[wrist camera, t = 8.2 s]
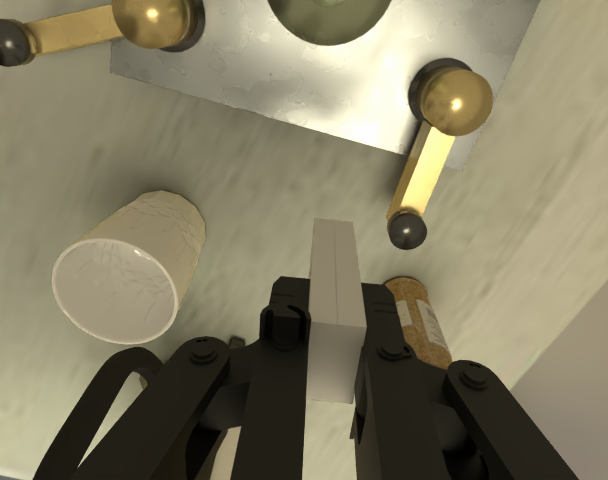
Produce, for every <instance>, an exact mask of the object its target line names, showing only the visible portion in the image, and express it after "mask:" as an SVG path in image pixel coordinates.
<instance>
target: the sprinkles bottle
mask: <svg viewBox="0 0 608 480" xmlns="http://www.w3.org/2000/svg"><path fill="white" fill-rule="evenodd" d="M384 285H386V286H387V288H388V289H389V290H390V291H391V292H392V293H393V294H394V298H395V302H396V306H397V310H398V314H399V318H400V322H401V326H402V330H403V334H404V338H405V342H407V343H408V344H409V345H410V346H411V347H412V348H413V349H414V351H415V353H416V355H417V358H418V359H420V360H422V361H423V362H426V363H428V364H430V365H433V366H436V367H439V368H442V369H445V370H447V368H448V366H449V365H450V364H451V363H452V357H451V354H450V352H449V349H448V347H447V344H446V342H445V339H444V336H443V334H442V331H441V329H440V326H439V323H438V321H437V318H436V316H435V313H434V311H433V309H432V308H431V306H430V303H429V301H428V294H427V291H426V289H425V287H424V286H423V285H422V284H421V283H420V282H418V281H416V280H414V279H410V278H405V277H401V278H396V279H393V280H391V281H389V282H387V283H386V284H384Z"/></svg>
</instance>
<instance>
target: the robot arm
mask: <svg viewBox="0 0 608 480" xmlns="http://www.w3.org/2000/svg"><path fill="white" fill-rule="evenodd" d="M354 394H355V402H356V407H355V412H354V417H353V422H352V428H351V433H350V438H349V439H354V441H355V456H356V472H357V480H579V479H578V478H577V477H576V475H575V474H574V473H573V471H572V470H571V469H570V468H569V466H568V465H567V464H566V463H565V461H564V460H563V459H562V458H561V456H560V455H559V454H558V452H557V451H556V450H555V449H554V447H553V446H552V445H551V444H550V442H549V441H548V440H547V439H546V437H545V436H544V435H543V434H542V432H541V431H540V430H539V429H538V427H537V426H536V425H535V423H534V422H533V421H532V420H531V418H530V417H529V416H528V414H527V413H526V412H525V411H524V409H523V408H522V407H521V406H520V404H519V403H518V402H517V401H516V399H515V398H514V397H513V396H512V394H511V393H510V392H509V390H508V389H507V388H506V387H505V385H504V384H503V383H502V382H501V380H500V379H499V378H498V377H497V376H496V375H495V374H494V373H493V372H492V371H491V370H490V369H489V368H487V367H485V366H483V365H482V364H479V363H476V362H473V361H469V360H458V361H454V362H452V363H451V364H450V365H449V366H448V368H447V370H445V369H442V368H439V367H436V366H433V365H430V364H428V363H426V362H423V361H422V360H420V359H418V358H417V355H416V353H415V351H414V349H413V348H412V347H411V346H410V345H409V344H408V343H407V342H405V338H404V334H403V330H402V326H401V322H400V318H399V314H398V310H397V306H396V302H395V298H394V294H393V293H392V292H391V291H390V290H389V289H388V288H387V286H386V285H379V284H368V283H361V280H360V272H359V265H358V257H357V250H356V242H355V235H354V227H353V222H347V221H336V220H326V219H315V220H314V230H313V240H312V249H311V259H310V269H309V279H305V278H295V277H284V276H281V277H280V278H279V279H278V280H277V281H276V282H275V283H274V284H273V287H272V292H271V297H270V303H269V305H268V306H267V307H265V308H264V309H263V310H262V312H261V314H260V333H259V339H258V340H257V341H255V342H254V343H252V344H250V345H247V346H244V347H239V348H232V349H229V347H228V346H227V345H226V344H225V342H224V341H222V340H220V339H217V338H215V337H207V336H205V337H197V338H194V339H191V340H189V341H186V342H185V343H184V344H183V345H182V346H180V347H179V348H178V350H177V351H176V352H175V353H174V354H173V356H172V357H171V358H170V359H169V360H168V361H167V363H166V364H165V365H164V366H163V367H162V369H161V370H160V371H159V372H158V373H157V375H156V376H155V377H154V378H153V379H152V380H151V382H150V383H149V384H148V385H147V386H146V388H145V389H144V390H143V391H142V392H141V393H140V395H139V396H138V397H137V398H136V399H135V401H134V402H133V403H132V404H131V405H130V407H129V408H128V409H127V410H126V411H125V412H124V414H123V415H122V416H121V417H120V418H119V420H118V421H117V422H116V423H115V424H114V426H113V427H112V428H111V429H110V430H109V431H108V433H107V434H106V435H105V436H104V437H103V439H102V440H101V441H100V442H99V443H98V445H97V446H96V447H95V448H94V449H93V450H92V452H91V453H90V454H89V455H88V456H87V458H86V459H85V460H84V461H83V462H82V463H81V465H80V466H79V467H78V468H77V469H76V471H75V472H74V473H73V474H72V475H71V477H70V478H69V479H68V480H202V479H203V477H204V476H205V474H206V472H207V470H208V468H209V466H210V464H211V463H212V461H213V459H214V457H215V455H216V453H217V452H218V450H219V448H220V446H221V444H222V442H223V440H224V439H225V437H226V435H227V432H228V429H230V428H235V427H240V426H241V429H240V434H239V439H238V444H237V448H236V453H235V458H234V463H233V468H232V472H231V477H230V480H302V467H303V448H304V428H305V408H306V399H307V400H317V401H327V402H338V403H348V404H353V399H354Z"/></svg>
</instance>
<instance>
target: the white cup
mask: <svg viewBox="0 0 608 480" xmlns="http://www.w3.org/2000/svg"><path fill="white" fill-rule="evenodd" d="M205 241H206V232H205V222H204V220H203V218H202V217H201V215H200V213H199V212H198V210H197V208H196V207H195V206H194V205H193V204H191V203H190V202H189V201H187V200H186V199H185V198H183V197H182V196H181V195H178V194H174V193H170V192H166V191H162V190H160V191H154V192H148V193H143V194H142V195H140V196H139V197H138V198H137V199H135V200H134V201H133V202H131V203H130V204H128V205H126V206H124V207H122V208H120V209H119V210H118V211H116V212H115V213H113V214H112V215H110V216H109V217H108V218H106V219H105V220H103V221H102V222H100V223H99V224H98V225H97V226H96V227H94V228H93V229H92V230H90V231H89V232H88V233H87V234H85V235H84V236H82V237H81V238H80V239H79V240H77V241H76V242H75V243H73V244H72V245H71V246H69V247H68V248H67V249H65V250H64V251H63V252H62V253H61V254H60V256H59V257H58V258H57V260H56V262H55V264H54V266H53V270H52V275H51V285H52V290H53V294H54V297H55V299H56V302H57V304H58V305H59V307H60V309H61V310H62V311H63V313H64V314H65V315H66V316H67V318H68V319H69V320H70V321H71V322H72V323H74V324H75V325H76V326H77V327H79V328H80V329H81V330H83V331H84V332H86V333H88V334H90V335H91V336H93V337H96V338H98V339H101V340H104V341H107V342H111V343H116V344H125V345H131V344H140V343H145V342H148V341H151V340H153V339H156V338H157V337H159V336H161V335H162V334H163V333H165V332H166V331H167V330H168V329H169V327H170V326H171V325H172V323H173V321H174V320H175V317H176V315H177V312H178V310H179V308H180V305H181V303H182V301H183V298H184V296H185V294H186V291H187V289H188V287H189V284H190V282H191V280H192V277H193V274H194V272H195V269H196V266H197V263H198V261H199V255H200V252H201V250H202V247H203V245H204V243H205Z"/></svg>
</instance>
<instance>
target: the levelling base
mask: <svg viewBox="0 0 608 480" xmlns="http://www.w3.org/2000/svg"><path fill="white" fill-rule="evenodd" d="M194 1H195V3H196V6H197V10H198V25H197V29H196V31H195V33H194V35H193V36H192V37H191V38H190V39H189V40H188V41H187V42H185V43H183V44H181V45H177V46H170V47H163V48H157V49H145V48H142V47H139V46H137V45H135V44H133V43H131V42H130V41H129V40H128V39H127V38H121V39H116V40H112V48H111V64H110V73H114V74H117V75H121V76H124V77H128V78H131V79H135V80H138V81H142V82H146V83H149V84H153V85H156V86H160V87H163V88H167V89H171V90H174V91H178V92H181V93H185V94H188V95H192V96H196V97H199V98H203V99H206V100H210V101H213V102H217V103H221V104H224V105H228V106H231V107H235V108H238V109H242V110H245V111H249V112H253V113H256V114H260V115H263V116H267V117H270V118H274V119H278V120H281V121H285V122H288V123H292V124H295V125H299V126H303V127H306V128H310V129H313V130H317V131H320V132H324V133H328V134H331V135H335V136H338V137H342V138H345V139H349V140H352V141H356V142H360V143H363V144H367V145H370V146H374V147H377V148H381V149H385V150H388V151H392V152H395V153H399V154H402V155H406V156H410V153H411V150H412V148H413V145H414V143H415V140H416V138H417V135H418V132H419V130H420V127H421V125H422V122H423V120H424V119H425V118H424V117H423V116H422V115H421V114H420V113H419V111H418V109H417V107H416V103H415V92H416V88H417V86H418V83H419V82H420V80H421V79H422V77H423V76H424V75H425V74H426V73H427V72H428V71H430V70H431V69H433V68H435V67H438V66H442V65H452V66H456V67H459V68H462V69H465V70H469V71H472V72H475V73H477V74H479V75H481V76H482V77H484V78H485V79H486V80H487V81H488V83H489V84H490V87H491V89H492V92H493V103H494V101H495V99H496V97H497V95H498V92H499V90H500V88H501V86H502V84H503V81H504V79H505V77H506V75H507V73H508V70H509V68H510V66H511V64H512V62H513V59H514V57H515V55H516V53H517V51H518V48H519V46H520V44H521V42H522V39H523V37H524V35H525V33H526V31H527V28H528V26H529V24H530V22H531V20H532V17H533V15H534V13H535V11H536V9H537V6H538V4H539V2H540V0H194ZM492 106H493V105H492ZM425 120H426V119H425ZM484 123H485V122H484ZM484 123H483V124H482V125H481V126H480V127H479V128H478V129H477V130H475V131H474V132H472V133H470V134H467V135H464V136H457V137H455V139H454V142H453V144H452V146H451V149H450V151H449V153H448V156H447V158H446V160H445V163H444V165H443V166H445V167H449V168H452V169H456V170H459V171H463V170H464V167H465V165H466V163H467V161H468V159H469V156H470V154H471V152H472V150H473V148H474V145H475V143H476V141H477V139H478V136H479V134H480V132H481V130H482V128H483V125H484Z"/></svg>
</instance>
